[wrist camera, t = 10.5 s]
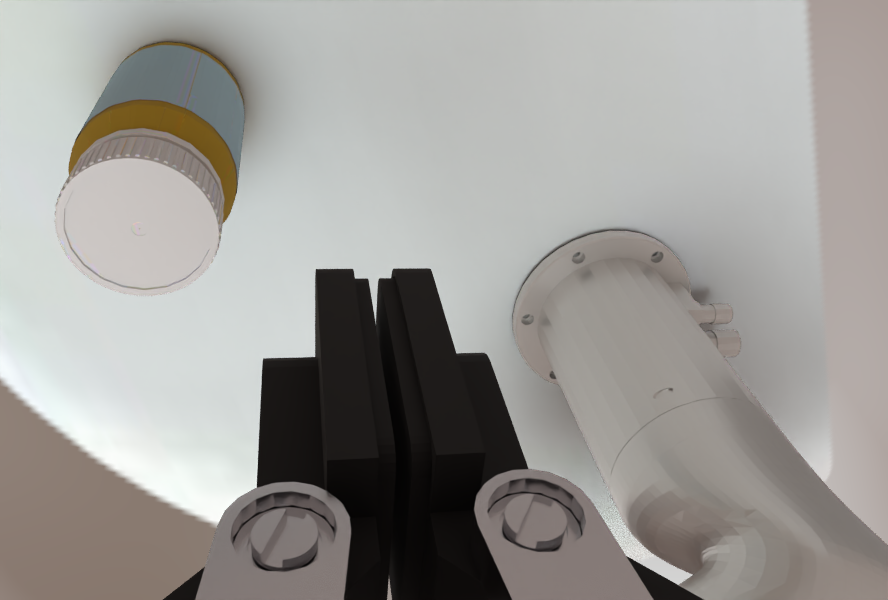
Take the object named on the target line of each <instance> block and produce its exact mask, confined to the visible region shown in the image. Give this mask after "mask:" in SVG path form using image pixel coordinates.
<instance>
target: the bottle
mask: <svg viewBox="0 0 888 600" xmlns="http://www.w3.org/2000/svg"><path fill="white" fill-rule="evenodd" d="M243 131H244V101H243V97H242V94H241V92H240V89H239V86H238V84H237V82H236V80H235V79H234V77H233V76H232V75H231V73H230V72H229V71H228V69H227V68H226V67H225V66H224V65H223V64H222V63H221V62H220V61H218V60H217V59H216V58H214V57H213V56H212V55H210V54H209V53H207V52H206V51H204V50H201V49H199V48H196V47H193V46H190V45H188V44H183V43H171V42H162V43H157V44H153V45H149V46H145V47H143V48H140V49H139V50H137V51H136V52H134V53H133V54H131V55H130V56H128V57H127V58H126V59H125V60H124V61H123V62H122V63H121V64H120V66H119V67H118V69H117V70H116V72H115V73H114V74H113V76H112V78H111V79H110V81H109V83H108V84H107V86H106V88H105V90H104V91H103V93H102V95H101V97H100V98H99V100H98V102H97V103H96V105H95V107H94V109H93V110H92V112H91V114H90V116H89V117H88V119H87V121H86V122H85V124H84V126H83V128H82V129H81V131H80V133H79V135H78V136H77V138H76V141H75V144H74V146H73V148H72V153H71V157H70V162H69V177H68V178H67V180H66V182H65V184H64V186H63V188H62V190H61V191H60V194H59V196H58V199H57V200H58V202H57V204H56V211H55V226H56V232H57V236H58V239H59V242H60V244H61V247H62V249H63V250H64V252H65V254H66V255H67V257H68V258H69V260H70V261H71V262H72V263H73V264H74V266H75V267H76V268H77V269H78V270H79V271H81V272H82V273H83V274H84V275H85V276H87V277H88V278H90V279H91V280H93V281H94V282H96V283H98V284H100V285H102V286H104V287H106V288H108V289H111V290H114V291H117V292H120V293H124V294H129V295H137V296H154V295H162V294H167V293H171V292H174V291H177V290H179V289H181V288H184V287H186V286H187V285H189V284H191V283H192V282H194V281H195V280H196V279H198V278H199V277H200V276H201V275H202V274H203V273H204V272H205V271H206V269H208V267H209V265H210V264H211V263H212V262H213V258H214V257H215V256H216V253H217V250H218V248H219V243H220V239H221V231H222V224H223V223H224V222H225V220H226V219H227V218H228V216H229V214H230V212H231V209H232V206H233V203H234V200H235V196H236V193H237V186H238V176H239V167H240V158H241V149H242V140H243Z"/></svg>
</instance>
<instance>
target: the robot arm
mask: <svg viewBox="0 0 888 600" xmlns="http://www.w3.org/2000/svg"><path fill="white" fill-rule="evenodd" d="M732 318H733V310H732V307H731V305H729V304H710V305H700V304H699V303H698V302H696V301H695V300H694V299H693V298H692V296H691V289H690V282H689V279H688V276H687V273H686V270H685V269H684V267H683V266H682V264H681V262H680V261H679V259H678V258H677V257H676V256H675V255H674V254H673V253H672V251H671V250H670V249H669V248H668V247H666V246H665V245H664V244H662V243H661V242H659V241H658V240H656V239H654V238H652V237H649V236H647V235H644V234H641V233H636V232H630V231H606V232H600V233H594V234H590V235H587V236H585V237H582V238H579V239H576V240H574V241H572V242H570V243H568V244H566V245H564V246H563V247H561V248H559V249H557V250H556V251H555V252H554V253H552V254H551V255H550V256H548V257H547V258H546V259H544V260H543V261H542V262H541V263H540V264H539V265H538V267H537V268H536V269H535V270H534V271H533V272H532V273H531V274H530V276H529V277H528V279H527V280H526V282H525V283H524V285H523V286H522V288H521V291H520V293H519V295H518V298H517V300H516V303H515V308H514V313H513V333H514V337H515V341H516V344H517V347H518V349H519V351H520V353H521V356H522V358H523V359H524V360H525V362H526V363H527V365H528V366H529V367H530V368H531V369H532V370H533V371H534V372H535V373H536V374H538V375H539V376H540V377H542V378H544V379H545V380H547V381H549V382H551V383H554V384H557V385H560V387H561V389H562V391H563V394H564V396H565V398H566V400H567V402H568V404H569V407H570V409H571V411H572V413H573V415H574V417H575V420H576V422H577V424H578V426H579V428H580V430H581V432H582V435H583V437H584V439H585V441H586V443H587V445H588V448H589V450H590V452H591V454H592V456H593V458H594V461H595V463H596V465H597V467H598V469H599V471H600V474H601V476H602V478H603V480H604V482H605V484H606V486H607V489H608V491H609V493H610V495H611V497H612V499H613V501H614V504H615V506H616V508H617V510H618V512H619V514H620V516H621V518H622V520H623V522H624V523H625V525H626V527H627V528H628V530H629V531H630V532H631V533H632V535H633V536H634V537H635V538H636V539H637V540H638V541H639V542H640V543H641V544H642V545H643V546H644V547H645V548H647V549H648V550H649V551H650V552H651V553H653V554H654V555H656V556H657V557H659V558H661V559H662V560H664V561H666V562H668V563H669V564H671V565H673V566H675V567H677V568H679V569H682V570H684V571H686V572H688V573H691V574H693V575H692V576H691V577H690V578H688V579H687V580H685V581H684V582H682V583H680V584H679V585H677V584H675V583H673V582H672V581H670V580H668V579H666V578H665V577H663V576H661V575H659V574H657V573H656V572H654V571H652V570H650V569H648V568H646V567H645V566H643V565H641V564H639V563H638V562H636V561H634V560H632V559H631V558H629V557H627V556H626V555H625V554H624V552H623V550H622V549H621V547H620V546H619V544H618V542H617V541H616V539H615V538H614V536H613V535H612V533H611V531H610V530H609V528H608V527H607V525H606V523H605V522H604V520H603V519H602V517H601V515H600V514H599V512H598V511H597V509H596V508H595V506H594V504H593V503H592V502H591V500H590V499H589V498H588V497H587V496H586V495H585V493H584V492H583V491H582V490H581V489H580V488H578V487H577V486H575V485H574V484H572V483H571V482H570V481H568V480H567V479H564V478H562V477H559V476H557V475H555V474H552V473H550V472H544V471H539V470H533V469H528V466H527V463H526V461H525V458H524V455H523V452H522V449H521V447H520V444H519V441H518V438H517V435H516V432H515V430H514V427H513V424H512V421H511V418H510V416H509V413H508V410H507V407H506V404H505V401H504V399H503V396H502V393H501V390H500V387H499V385H498V382H497V379H496V376H495V373H494V370H493V368H492V365H491V362H490V360H489V358H488V356H487V354H485V353H458V354H456V351H455V348H454V344H453V341H452V338H451V334H450V331H449V328H448V324H447V321H446V318H445V314H444V311H443V308H442V304H441V301H440V298H439V294H438V291H437V288H436V284H435V281H434V277H433V274H432V271H431V269H393V271H392V277H391V278H380V279H379V281H378V294H377V315H376V324H375V318H374V312H373V305H372V299H371V293H370V287H369V281H368V279H355V277H354V271H353V269H316V276H315V357H305V358H266V359H263V367H262V388H261V409H260V430H259V451H258V473H257V488H255V489H253V490H251V491H250V492H248V493H246V494H244V495H242V496H241V497H239V498H238V499H237V500H236V501H235V502H233V503H232V504H231V505H230V506H229V507H228V508H227V509H226V510H225V512H224V514H223V516H222V518H221V520H220V522H219V524H218V525H217V528H216V532H215V535H214V539H213V542H212V545H211V548H210V552H209V555H208V559H207V562H206V565H205V567H204V568H203V569H201V570H200V571H199V572H198V573H196V574H195V575H194V576H193V577H192V578H190V579H189V580H188V581H186V582H185V583H184V584H182V585H181V586H180V587H178V588H177V589H176V590H175V591H173V592H172V593H171V594H170V595H168V596H167V597H166V598H164V599H163V600H387V591H388V579H390V587H391V595H392V600H888V545H887V544H886V543H885V542H884V541H882V539H881V538H879V537H878V536H877V535H876V534H875V533H874V532H873V531H872V530H871V529H870V528H869V527H867V525H866V524H864V523H863V522H862V521H861V520H860V519H859V518H858V517H857V516H856V515H855V514H854V513H853V512H852V511H851V510H850V509H849V508H848V507H847V506H846V505H845V504H844V503H843V502H842V501H841V500H840V499H839V498H838V497H837V496H836V495H835V494H834V493H833V492H832V491H831V490H830V489H829V488H828V487H827V485H826V484H825V483H824V482H823V481H822V480H821V479H820V477H819V476H818V475H817V474H816V473H815V472H814V470H813V469H812V468H811V467H810V466H809V464H808V463H807V462H806V461H805V460H804V458H803V457H802V456H801V455H800V454H799V452H798V451H797V450H796V449H795V448H794V446H793V445H792V444H791V443H790V441H789V440H788V439H787V438H786V436H785V435H784V434H783V433H782V431H781V430H780V429H779V427H778V426H777V425H776V424H775V422H774V421H773V420H772V418H771V417H770V416H769V415H768V414H767V412H766V411H765V410H764V408H763V407H762V406H761V405H760V403H759V402H758V401H757V399H756V398H755V397H754V395H753V394H752V393H751V392H750V390H749V389H748V388H747V386H746V385H745V384H744V383H743V381H742V380H741V379H740V377H739V376H738V375H737V373H736V372H735V371H734V370H733V368H732V367H731V366H730V364H729V363H728V362H727V361H726V359H725V358H724V357H735V356H737V355H738V354H739V352H740V349H741V340H740V336H739V334H738V332H737V331H735V330H734V329H733V330H710V331H706V332H704V331H703V329H702V328H701V327H700V326H699V325H700V324H701V323H710V324H728V323H730V322H731V320H732Z"/></svg>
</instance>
